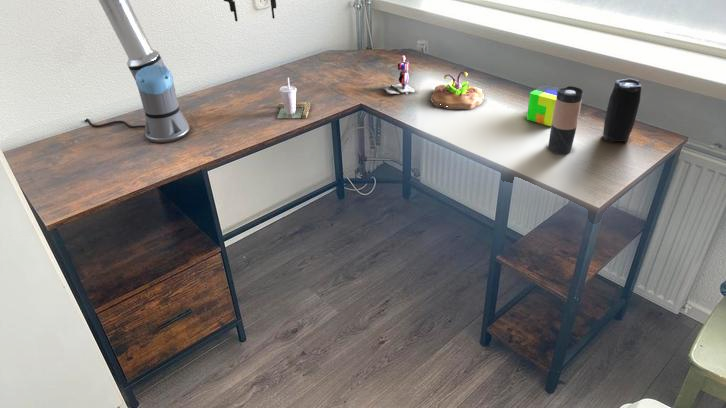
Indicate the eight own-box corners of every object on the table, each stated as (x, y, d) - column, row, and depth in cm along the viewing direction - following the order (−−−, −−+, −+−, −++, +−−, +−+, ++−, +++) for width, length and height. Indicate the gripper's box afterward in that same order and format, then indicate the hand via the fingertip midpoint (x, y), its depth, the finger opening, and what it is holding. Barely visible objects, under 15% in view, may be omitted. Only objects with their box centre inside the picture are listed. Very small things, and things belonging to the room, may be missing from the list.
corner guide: (274, 118, 205) (274, 115, 205) (279, 106, 215) (279, 102, 214) (306, 118, 205) (306, 114, 204) (310, 105, 214) (310, 102, 213)
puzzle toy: (565, 117, 198) (570, 91, 193) (552, 126, 192) (557, 100, 187) (540, 110, 204) (544, 84, 198) (526, 119, 198) (530, 93, 193)
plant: (478, 112, 204) (481, 83, 198) (426, 106, 210) (427, 78, 203) (486, 92, 220) (489, 64, 214) (438, 87, 225) (439, 60, 219)
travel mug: (568, 156, 175) (580, 97, 164) (544, 150, 178) (554, 92, 167) (574, 146, 180) (586, 88, 169) (551, 141, 184) (561, 84, 172)
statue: (405, 87, 229) (409, 51, 222) (415, 95, 222) (419, 58, 214) (381, 89, 225) (384, 52, 218) (390, 97, 218) (393, 59, 210)
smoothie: (296, 116, 206) (292, 81, 198) (279, 115, 207) (275, 80, 199) (301, 109, 211) (297, 74, 203) (285, 108, 212) (280, 74, 204)
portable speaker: (595, 138, 184) (608, 82, 173) (611, 129, 189) (623, 75, 178) (619, 147, 179) (634, 90, 168) (634, 138, 184) (649, 82, 173)
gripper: (209, -39, 187) (220, 24, 199) (282, -44, 190) (289, 18, 202) (210, -43, 193) (221, 18, 205) (281, -48, 196) (288, 13, 208)
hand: (255, 19), depth 204 cm, fingers open, 13 cm apart
